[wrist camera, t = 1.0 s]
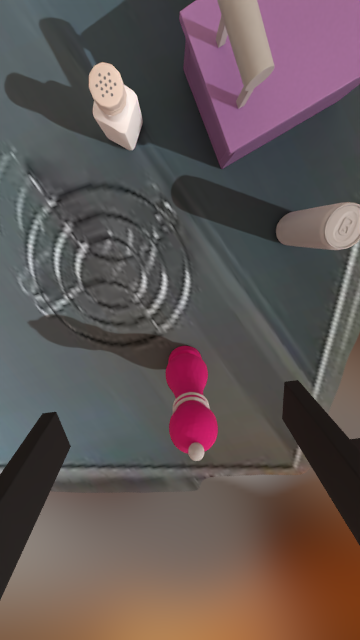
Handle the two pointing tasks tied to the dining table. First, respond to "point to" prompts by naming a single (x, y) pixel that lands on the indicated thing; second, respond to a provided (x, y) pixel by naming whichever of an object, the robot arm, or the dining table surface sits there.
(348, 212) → the beverage can
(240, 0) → the lid
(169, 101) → the dining table surface
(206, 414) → the pepper mill
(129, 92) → the salt shaker
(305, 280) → the dining table surface
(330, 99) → the file box
